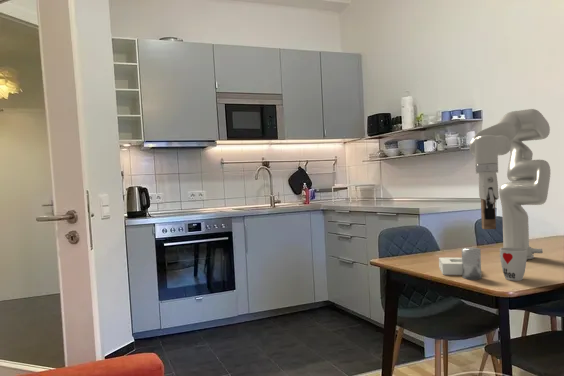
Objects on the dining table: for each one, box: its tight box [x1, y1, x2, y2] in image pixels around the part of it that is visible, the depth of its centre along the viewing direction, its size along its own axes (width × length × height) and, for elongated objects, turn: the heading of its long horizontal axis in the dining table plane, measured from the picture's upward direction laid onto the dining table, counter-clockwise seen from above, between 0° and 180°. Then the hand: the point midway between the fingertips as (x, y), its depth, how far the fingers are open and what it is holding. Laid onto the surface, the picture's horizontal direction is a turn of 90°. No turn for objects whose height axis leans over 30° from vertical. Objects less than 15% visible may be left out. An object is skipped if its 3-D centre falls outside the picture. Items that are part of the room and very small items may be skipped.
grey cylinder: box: [461, 247, 482, 281], centre depth 150 cm, size 6×6×10 cm
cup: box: [499, 247, 528, 282], centre depth 146 cm, size 8×8×10 cm
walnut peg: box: [480, 196, 497, 230], centre depth 160 cm, size 4×4×12 cm
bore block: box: [438, 257, 462, 276], centre depth 160 cm, size 12×12×4 cm
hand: (488, 218), depth 160 cm, fingers closed on walnut peg, 4 cm apart
